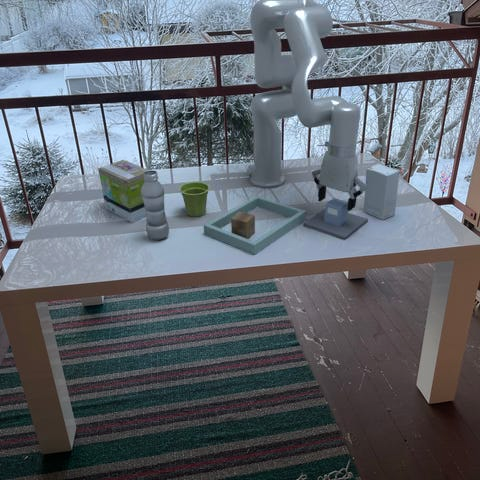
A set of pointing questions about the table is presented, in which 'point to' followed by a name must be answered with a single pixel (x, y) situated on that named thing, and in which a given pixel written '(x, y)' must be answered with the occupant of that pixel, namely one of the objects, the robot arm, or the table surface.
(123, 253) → the table surface
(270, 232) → the tray
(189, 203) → the plant pot
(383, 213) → the skincare box
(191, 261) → the table surface
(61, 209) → the table surface
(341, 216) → the slate box
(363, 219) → the mat
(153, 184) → the plastic bottle
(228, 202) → the table surface
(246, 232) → the walnut block
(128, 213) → the tea box
